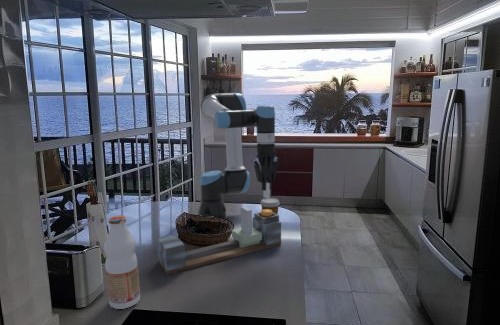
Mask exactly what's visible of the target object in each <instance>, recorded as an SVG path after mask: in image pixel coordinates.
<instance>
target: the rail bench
mask: <svg viewBox="0 0 500 325" xmlns="http://www.w3.org/2000/svg"><path fill="white" fill-rule="evenodd" d="M253 215H254V216H252V227H253V228H254V229H256V230H258V231H259V232H261V233H262V240H260V243H258V244H254V245H250V246H246V247H242V248H241V247H240V246H239V241H237V240H235V241H234V239H233V240H228V241H224V242H220V243H215V244H212V245H208V246H202V247H200V248H195V249H190V250H187V251H186V245H185V244H184V242H183V241H182V240H181V239H180V238H179V237H178V236H177V235H176V234H174V233H173V234H168V235H163V236H159V237H156V245H157V246H156V247H157V259H158V261H159V262H160V263H159V262H158V263H159V265H160V264H161V265H162V266H161V265H160V266H161V268H162V269H163V268H164V269H165V270H164V269H163V270H164V272H165V271H166V272H167V273H166V272H165V273H166V274H167V275H168V274H169V275H171V274H170V273H172V274H175V273H174V272H176V273H179V272H178V271H180V272H183V271H182V270H184V271H186V269H187V270H190V268H191V269H194V268H199V267H202V266H205V265H210V264H214V263H217V262H221V261H224V260H228V259H231V258H235V257H239V256H244V255H246V254H247V255H248V254H252V253H254V252H258V251H261V250H262V251H263V250H265V249H270V248H273V247H278V246H281V245H282V222H281V221H280V215H279V214H278V215H277V214H275V213H273V212H272V216H269V217H265V218H264V217H262V216H261V211H260V212H255V213H253Z"/></svg>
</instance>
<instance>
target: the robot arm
mask: <svg viewBox="0 0 500 325" xmlns="http://www.w3.org/2000/svg"><path fill="white" fill-rule="evenodd" d="M200 111H201V113H203V115H204V116H207V117H211V118H212V119H214V123H215V127H216V128H217V129H224V133H225V134H224V136H225V151H226V167H225V168H224V172H222V171H221V170H211V171H206V172H204V173H202V174H201V175H200V177H199V180H200V181H199V185H200V186H199V187H200V204H199V208H198V211H197V212H198V214H197V215H202V216H214V217H221V218H224V217H225V216H227V208H226V206H225V203H224V200H223V199H224V198H223V196H225V195H233V194H242V193H246V192H247V191H248V190H249V189H250V186H251V174H250V172H249V171H248V170H246V167H245V166H244V165H243V164H244V163H243V162H244V161H243V147H242V145H243V142H242V128H256V153H257V155H256V158H255V159H252V160H251V164H252V165H253V167H254V172H255V175H256V180H257V182H259V183H261V190H262V192H263V193H262V194H263V198H264V199H265V198H271V197H270V190H272V183H274V182H273V181H275V180H276V175H277V170H278V166H279V163H280V162H281V158H280V157H277V156H276V154H275V152H276V143H275V142H276V139H275V138H276V133H275V132H276V131H275V130H276V129H275V128H276V127H275V124H276V121H275V120H276V112H275V111H276V110H275V106H274V105H258V106H257V107H256V108H252V109H247V102H246V99H245V97H244V95H243V94H241V93H240V92H238V93H237V92H223V93H222V92H221V93H220V92H217V93H215V92H213V93H210V94H208V95H206V96H204V98H203V99H202V100H201V102H200Z"/></svg>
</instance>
